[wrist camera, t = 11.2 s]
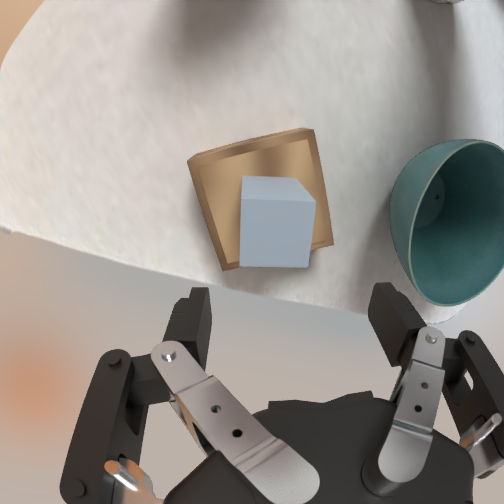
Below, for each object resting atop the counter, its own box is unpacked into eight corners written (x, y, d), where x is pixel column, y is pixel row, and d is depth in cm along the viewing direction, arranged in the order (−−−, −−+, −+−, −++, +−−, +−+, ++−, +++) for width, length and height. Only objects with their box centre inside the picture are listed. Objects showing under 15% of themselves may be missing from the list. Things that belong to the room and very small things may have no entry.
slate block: (296, 178, 26) (316, 201, 18) (291, 227, 28) (307, 267, 21) (242, 175, 25) (241, 198, 18) (240, 226, 28) (239, 266, 21)
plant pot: (364, 118, 28) (423, 123, 17) (471, 140, 28) (533, 158, 17) (352, 258, 36) (389, 316, 25) (452, 254, 36) (498, 296, 25)
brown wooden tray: (301, 127, 29) (314, 129, 24) (320, 224, 34) (334, 245, 29) (197, 153, 30) (186, 161, 25) (226, 246, 35) (222, 271, 30)
